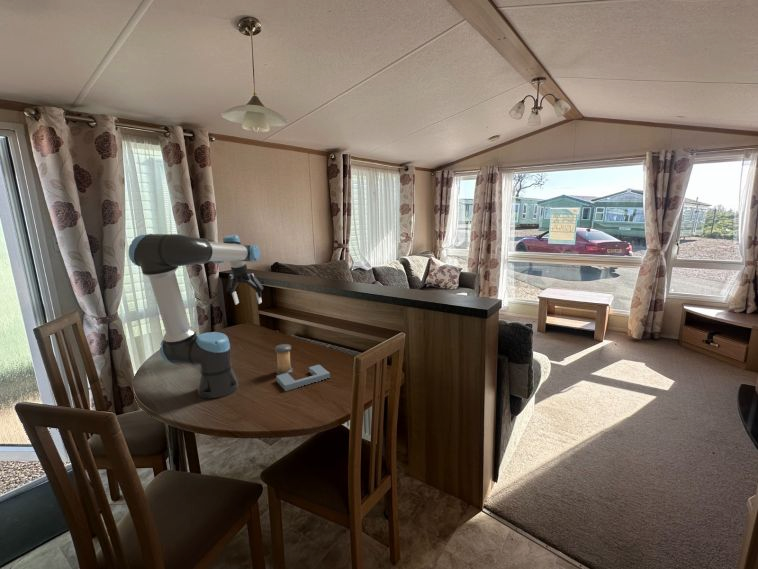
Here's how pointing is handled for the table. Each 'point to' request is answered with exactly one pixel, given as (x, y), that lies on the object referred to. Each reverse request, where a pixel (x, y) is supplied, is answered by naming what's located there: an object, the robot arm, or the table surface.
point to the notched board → (290, 383)
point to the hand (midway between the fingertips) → (248, 303)
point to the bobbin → (283, 359)
